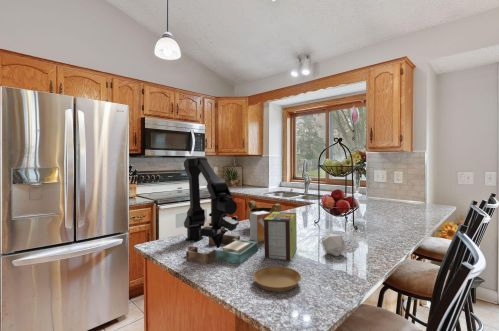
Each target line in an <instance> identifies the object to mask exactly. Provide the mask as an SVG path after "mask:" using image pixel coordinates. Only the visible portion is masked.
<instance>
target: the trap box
mask: <svg viewBox="0 0 499 331" xmlns="http://www.w3.org/2000/svg"><path fill="white" fill-rule="evenodd" d="M234 241H241V242H247V243H250V246H249V247H248V248H247V249H245V250H244V251H242V252H241V253H233V252H227V251H223V250H219V249H213V250H211V251H209V252H208V253H204V252H199V251H198V250H199V248H198V246H193V245H188V246H187V250H186V251H185V255H186V256H185V259H186V262H193V263H197V264H203V265H210V264H211V263H213V262H215V261H219V262H220V261H221V262H225V263H233V264H238V265H242V264H243V263H244V262H245V261H247V260H249V258H251V257H253V255H255V253H256V252H258V251H259V242H256V241H253V240H251V241H250V240H245V239H244V240H242V239H241V236H239V235H232V234H231V235H230V234H224V235H223V238H222V242H221V245H220V247H225V246H227V245H229V244H230V243H232V242H234ZM208 245H210V246H211V245H212V246H216V245H215V243H214V241H213V239H212V238H211V237H208Z"/></svg>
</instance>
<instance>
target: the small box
mask: <svg viewBox="0 0 499 331" xmlns="http://www.w3.org/2000/svg"><path fill="white" fill-rule="evenodd" d="M270 214H271V213H269V212H265V211H260V212H253V213H250V222H249V233H250V234H249V240H251V241H252V242H258V243H259V242H264V219H265V218H266V217H267V216H268V215H270Z"/></svg>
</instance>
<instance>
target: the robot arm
mask: <svg viewBox="0 0 499 331" xmlns="http://www.w3.org/2000/svg"><path fill="white" fill-rule="evenodd" d="M183 167H184V171H185V173H186V175H187V176H188V189H189V191H188V192H189V208H188V210H187V212H186V218H185V219H184V221H183V227H184V228H185V229H187V230H186V232H187V233H186V234H187V235H186V236H187V237H186V238H185V241H189V242H198V241H200V240H203V239H204V237H207V238H209V237H211V238H212V239H213V241H214V243H215V245H214V246H215V247H216V249H219V248H221V246H220V245H221V242H222V238H223V235H226V233H227V232H228V231H230V232H232V231H235V230H236V229H237V227H238V225H239V224H240V223H239V217H238V216H237V215H234V216H232V215H233V214H236V212H237V209H238V204H237V202H236V201H235V200H234V197H233V196H232V192H231V190H230V189H229V186H228V184H227V182H226V181H225V180H224V178H222V177H221V176H218V175H217V174H216V172H215V170H214V169H213V168H212V166H211V165H210V163H209V161H208V157H206V156H197V157H194V158H193V157H190V158H189V157H187V158H186V159H185V160H183ZM201 174H202V175H203V178H204V179H205V181H206V189H207V192H208V193H209V194H210V196H209V197H208V200H210V213H209V214H208V217H210V222H209V223H208V226H205V222H206V214H205V213H206V212H205V209H204V208H202V206H201V193H200V191H201V189H200V175H201ZM228 215H230V216H228ZM231 216H232V217H231Z"/></svg>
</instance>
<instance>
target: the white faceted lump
mask: <svg viewBox="0 0 499 331" xmlns="http://www.w3.org/2000/svg"><path fill="white" fill-rule="evenodd" d="M321 243H322V245H323V247H324V251H325V252H326V254H328V255H331V256H335V257H339V256H340V255H341V254H342V253H343V252H344V251H345V250H346V249H347V246H346V245H347V244H346V243H345V240H344V238H343V236H342V235H340V234H334V233H332V232H330V233H329V234H327V236H326V237H325V238H323V240H322V242H321Z"/></svg>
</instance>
